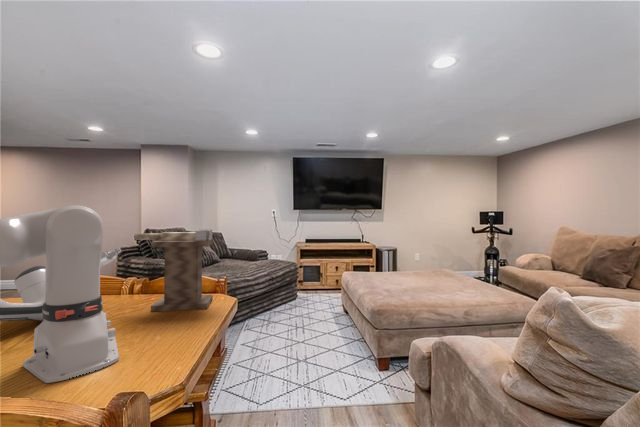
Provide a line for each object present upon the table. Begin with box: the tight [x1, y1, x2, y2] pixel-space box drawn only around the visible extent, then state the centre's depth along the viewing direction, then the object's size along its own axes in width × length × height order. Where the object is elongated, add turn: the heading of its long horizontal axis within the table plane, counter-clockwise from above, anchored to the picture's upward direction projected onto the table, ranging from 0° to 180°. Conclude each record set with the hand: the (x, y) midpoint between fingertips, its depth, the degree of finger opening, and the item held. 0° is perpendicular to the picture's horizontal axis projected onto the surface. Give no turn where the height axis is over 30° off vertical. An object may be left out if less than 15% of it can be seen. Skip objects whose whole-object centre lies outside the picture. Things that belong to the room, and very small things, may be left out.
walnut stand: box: [150, 238, 214, 312], centre depth 117 cm, size 20×12×26 cm, turn 101°
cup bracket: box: [194, 229, 213, 241], centre depth 119 cm, size 5×8×4 cm, turn 11°
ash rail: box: [133, 231, 195, 241], centre depth 116 cm, size 26×4×3 cm, turn 101°
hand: (113, 251), depth 112 cm, fingers open, 8 cm apart
